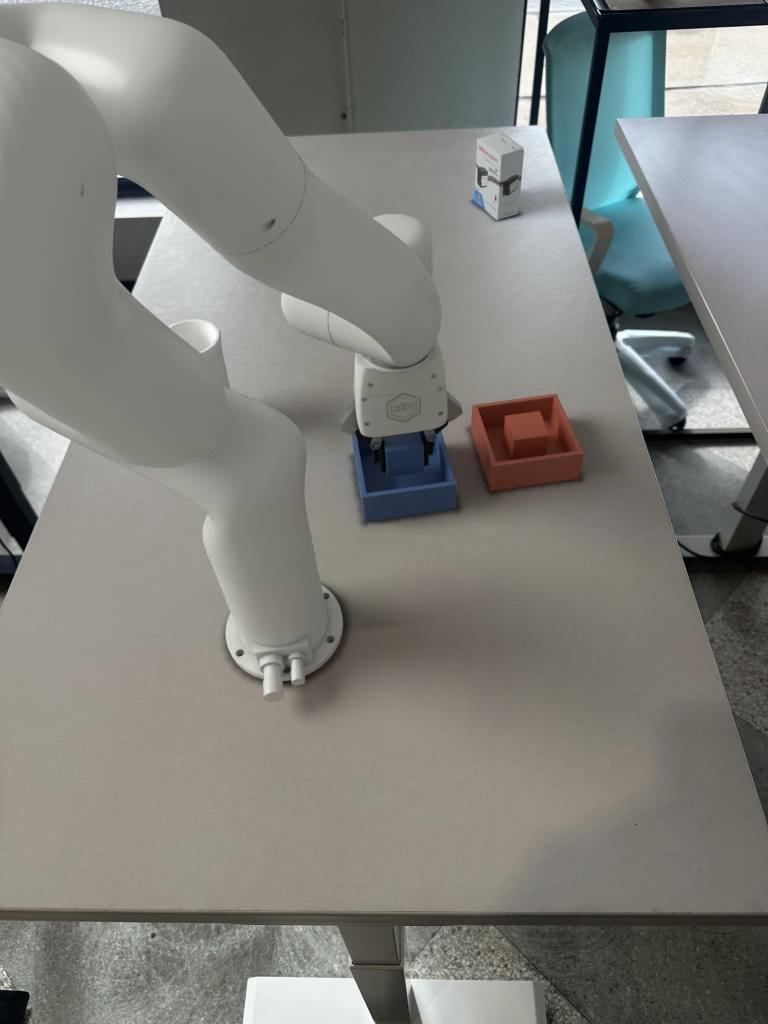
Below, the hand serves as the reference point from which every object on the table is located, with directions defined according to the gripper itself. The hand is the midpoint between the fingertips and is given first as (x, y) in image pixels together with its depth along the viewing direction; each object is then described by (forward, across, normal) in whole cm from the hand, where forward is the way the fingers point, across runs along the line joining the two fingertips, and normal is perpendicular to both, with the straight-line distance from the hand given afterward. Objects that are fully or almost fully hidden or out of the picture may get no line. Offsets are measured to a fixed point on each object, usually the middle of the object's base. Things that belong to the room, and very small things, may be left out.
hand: (403, 459), depth 89 cm
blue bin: (+4, 0, 0) cm, 4 cm away
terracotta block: (+3, +16, +2) cm, 16 cm away
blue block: (0, 0, 0) cm, 0 cm away
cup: (+4, -24, +16) cm, 29 cm away
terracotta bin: (+4, +16, +2) cm, 16 cm away
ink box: (+5, +28, +65) cm, 71 cm away
